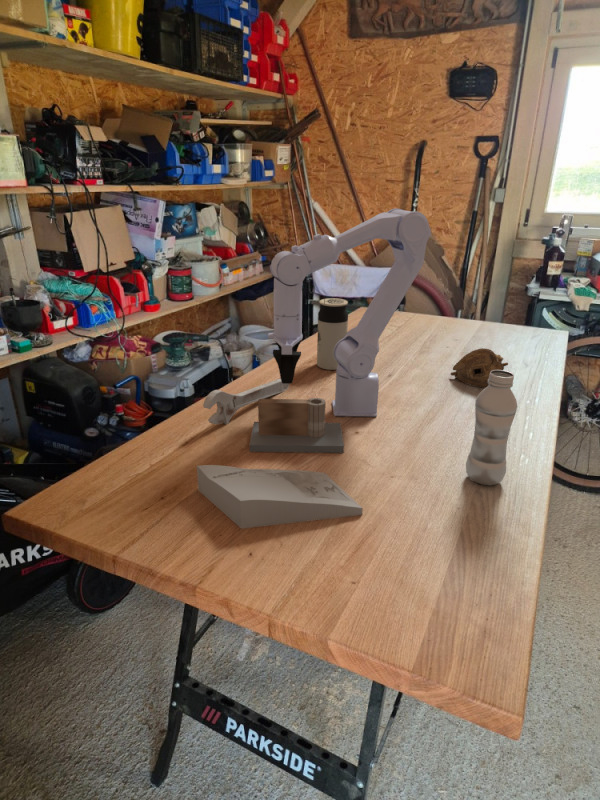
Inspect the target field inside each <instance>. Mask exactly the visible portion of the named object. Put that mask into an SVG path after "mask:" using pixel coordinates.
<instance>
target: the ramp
mask: <svg viewBox="0 0 600 800" xmlns="http://www.w3.org/2000/svg"><path fill="white" fill-rule="evenodd" d="M196 475H197V491H199V492H200V494H202V495H203V496H204V497H205V498H206V499H208V501H210V503H212V504H213V505H214V506H215V507H216V508H217V509H218V510H220V511H221V512H222V513H223V514H224V515H225V516H227V518H229V519H230V520H231V521H232V522H233V523H234V524H236V526H237V527H239V528H240V529H241V530H243V529H250V528H257V527H267V526H277V525H286V524H293V523H294V524H296V523H304V522H312V521H318V520H319V521H320V520H321V521H323V520H327V519H328V520H329V519H338V518H346V517H348V518H349V517H356V516H363V512H364V510H363V507H362V506H361V505H360V504H359V503H358V502H357V501H356V500H355V499H354V498H353V497H352V496H350V495H349V494H348V493H347V492H346V491H345V490H344V489H343V488H342V487H340V485H338V483H336V482H335V481H334V480H333V479H332V478H331V477H330V476H329V475H328V474H327V473H326V472H322V471H321V472H320V471H313V470H300V469H298V470H296V469H295V470H294V469H275V468H243V467H238V466H237V467H236V466H228V465H219V464H206V465H205V464H203V465H196Z"/></svg>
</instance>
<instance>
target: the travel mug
mask: <svg viewBox="0 0 600 800" xmlns="http://www.w3.org/2000/svg"><path fill="white" fill-rule="evenodd" d="M318 302H319V304H320V309H319V311H318V313H317V339H316V340H317V342H316V343H317V346H316V348H317V349H316V351H317V352H316V366H317V367H319V368H320V369H322V370H327V371H336V369H337V367H338V362H337V361H336V360H335V358H334V354H333V351H334V347H335V345H336V344H337V342H339V341H340V340H341V339H343V338H344V337H345V336H346V334H347V332H348V327H349V326H348V325H349V324H348V322H349V312H348V311H347V306H348V304H349V301H348V300H346V299H342V298H337V297H336V298H333V297H331V298H323V299H320V300H319V301H318Z"/></svg>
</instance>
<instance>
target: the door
mask: <svg viewBox="0 0 600 800" xmlns="http://www.w3.org/2000/svg"><path fill="white" fill-rule="evenodd" d="M326 402H327V401H326V400H325V399H324V398H320V397H312V398H308V399H302V398H301V399H297V398H296V399H295V398H293V399H292V398H288V399H287V398H285V399H284V398H264V399H259V401H257V403H258V404H257V408H258V409H257V411H258V412H257V413H258V422H259V435H298V436H309V437H312V438H320V437H323V436H324V434H325V423H326Z"/></svg>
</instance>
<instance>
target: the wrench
mask: <svg viewBox="0 0 600 800" xmlns="http://www.w3.org/2000/svg"><path fill="white" fill-rule="evenodd" d="M289 387H290V384H283V383H282V381H281V377H280V378H278V379H275V380H272V381H271V380H270V381H269V382H267V383H264V384H260V385H258V386H256V387H253V388H250V389H247V390H245V391H242V392H239V393H236V394H235V393H229V392H225V391H223V390H220V389H214V390H212V391H211V392H209V393H208V394H207V395H206V397H205V399H204V402H203V403H202V406H203V408H205V409H208V410H211V409H212V408H213V407H214V406H215V405H216V411H215V412H214V413H213V414H212V415H210V417H209V418H208V422H209V423H210V424H213V425H220V424H224V425H227V424H228V425H229V423H230V421H231V419H232V417H233V416H234V415H235V414H236V412H237V411H239V410H240V409H241V408H244V407H245V406H248V405H250V404H253V403H255V402H258V401H259V399H268V398H269V397H271V396H274V395H278V394H281V393H283V392H285V391H287V390H288V389H289Z"/></svg>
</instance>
